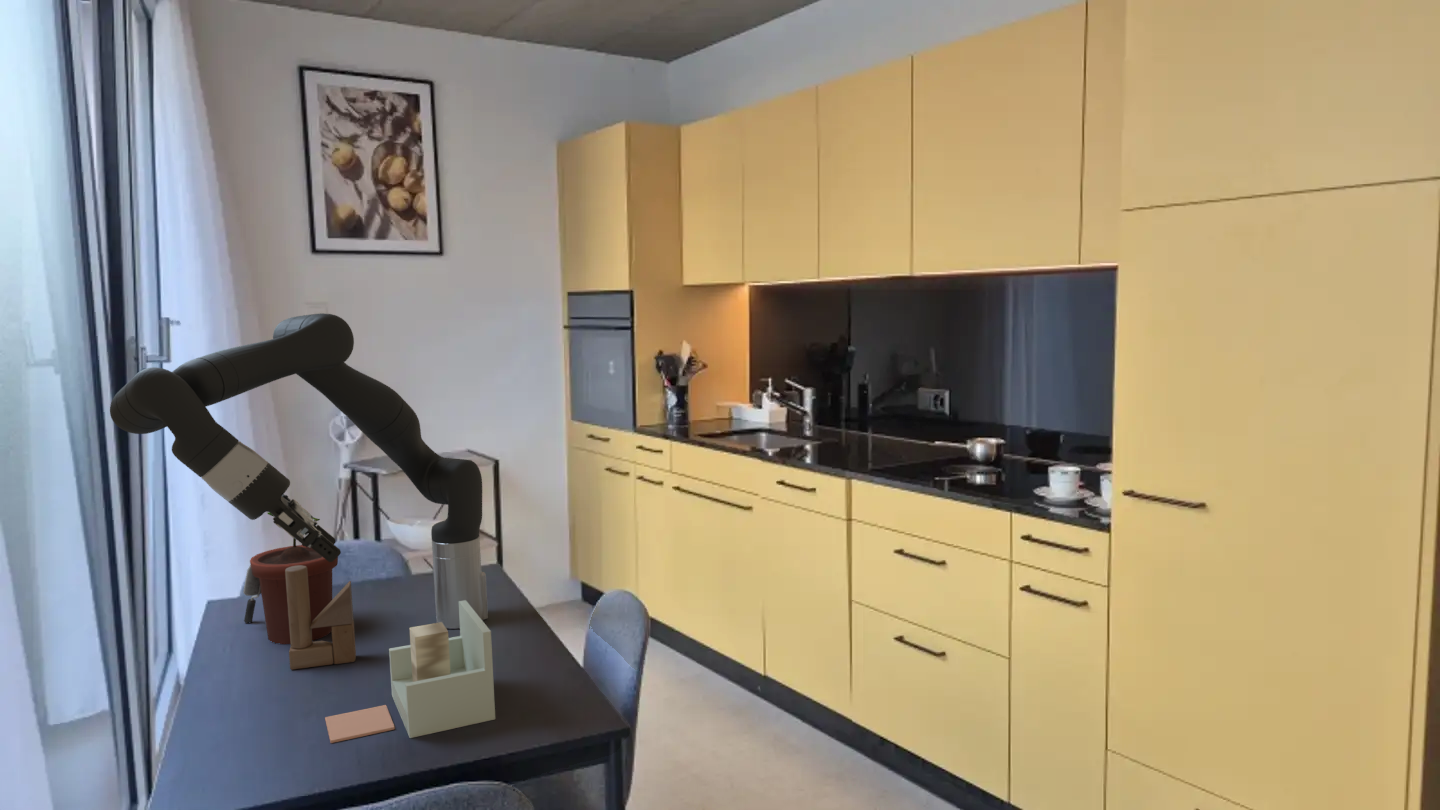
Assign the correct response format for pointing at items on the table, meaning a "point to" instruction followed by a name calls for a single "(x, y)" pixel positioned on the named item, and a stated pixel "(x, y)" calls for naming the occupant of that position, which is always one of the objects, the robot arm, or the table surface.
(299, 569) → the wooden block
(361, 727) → the mat
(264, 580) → the potted plant
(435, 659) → the birch block
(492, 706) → the cubby
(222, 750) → the table surface
